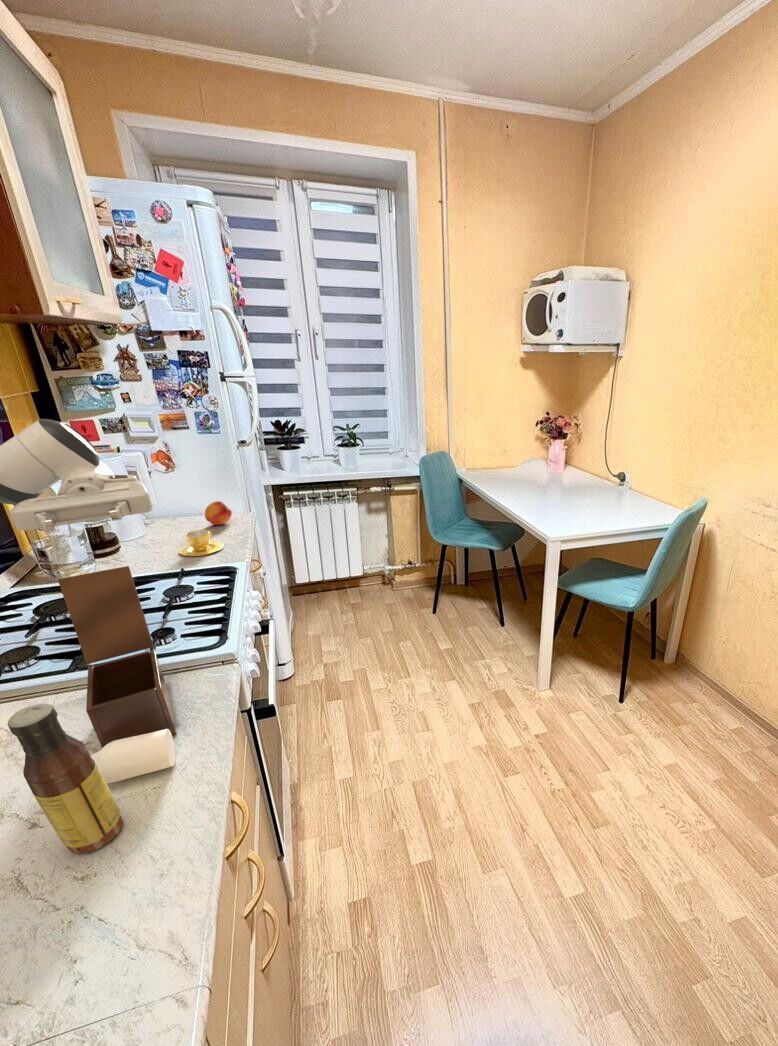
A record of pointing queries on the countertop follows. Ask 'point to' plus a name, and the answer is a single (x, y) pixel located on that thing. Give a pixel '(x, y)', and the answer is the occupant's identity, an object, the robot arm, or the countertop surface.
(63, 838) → the sauce bottle
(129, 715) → the bread box
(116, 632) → the bread box lid
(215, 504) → the fruit
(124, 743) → the cream bottle
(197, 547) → the cup
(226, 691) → the countertop surface
